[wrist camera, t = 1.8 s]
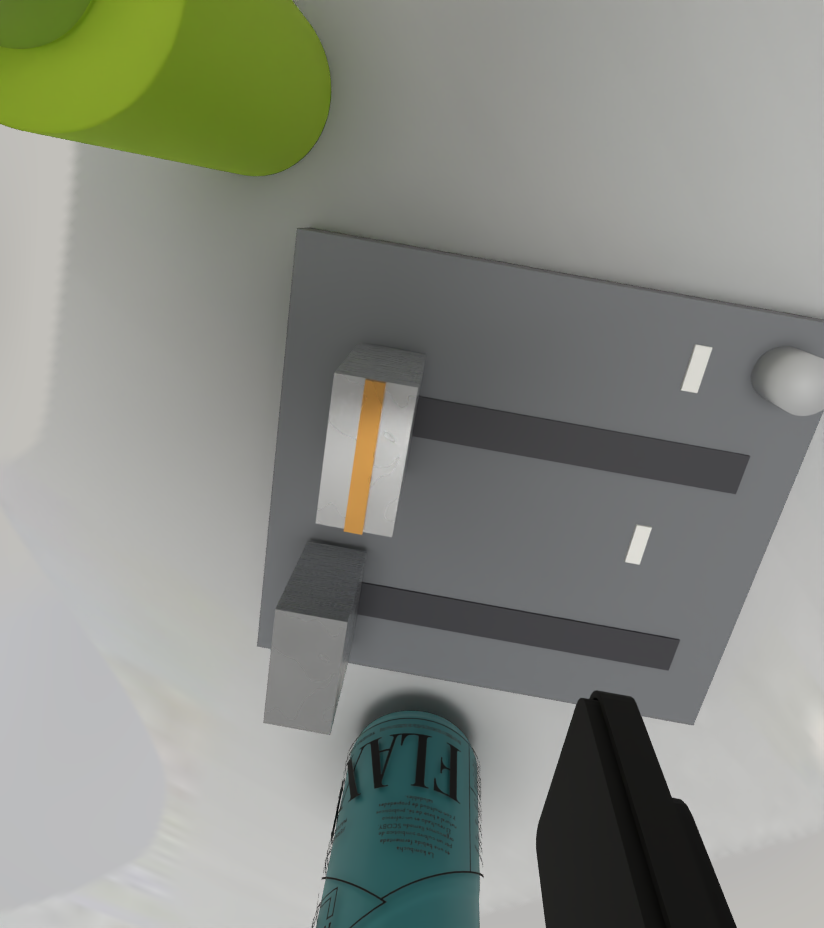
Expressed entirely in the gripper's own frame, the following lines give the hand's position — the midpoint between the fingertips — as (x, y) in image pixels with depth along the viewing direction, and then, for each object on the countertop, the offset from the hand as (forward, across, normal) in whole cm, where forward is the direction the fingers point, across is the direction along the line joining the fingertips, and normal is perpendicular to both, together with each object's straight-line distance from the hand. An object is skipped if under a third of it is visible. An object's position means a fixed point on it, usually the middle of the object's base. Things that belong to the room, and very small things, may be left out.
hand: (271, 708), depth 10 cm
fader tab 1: (+16, +1, +8) cm, 18 cm away
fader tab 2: (+16, 0, 0) cm, 16 cm away
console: (+18, -6, +3) cm, 19 cm away
